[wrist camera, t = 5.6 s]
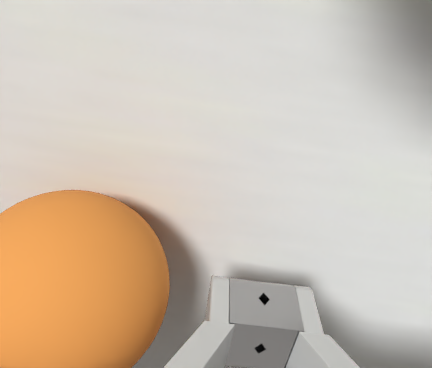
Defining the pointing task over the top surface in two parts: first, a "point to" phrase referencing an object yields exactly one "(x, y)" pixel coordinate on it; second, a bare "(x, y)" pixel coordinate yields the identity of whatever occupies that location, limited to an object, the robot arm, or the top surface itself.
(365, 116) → the top surface
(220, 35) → the top surface
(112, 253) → the ball
